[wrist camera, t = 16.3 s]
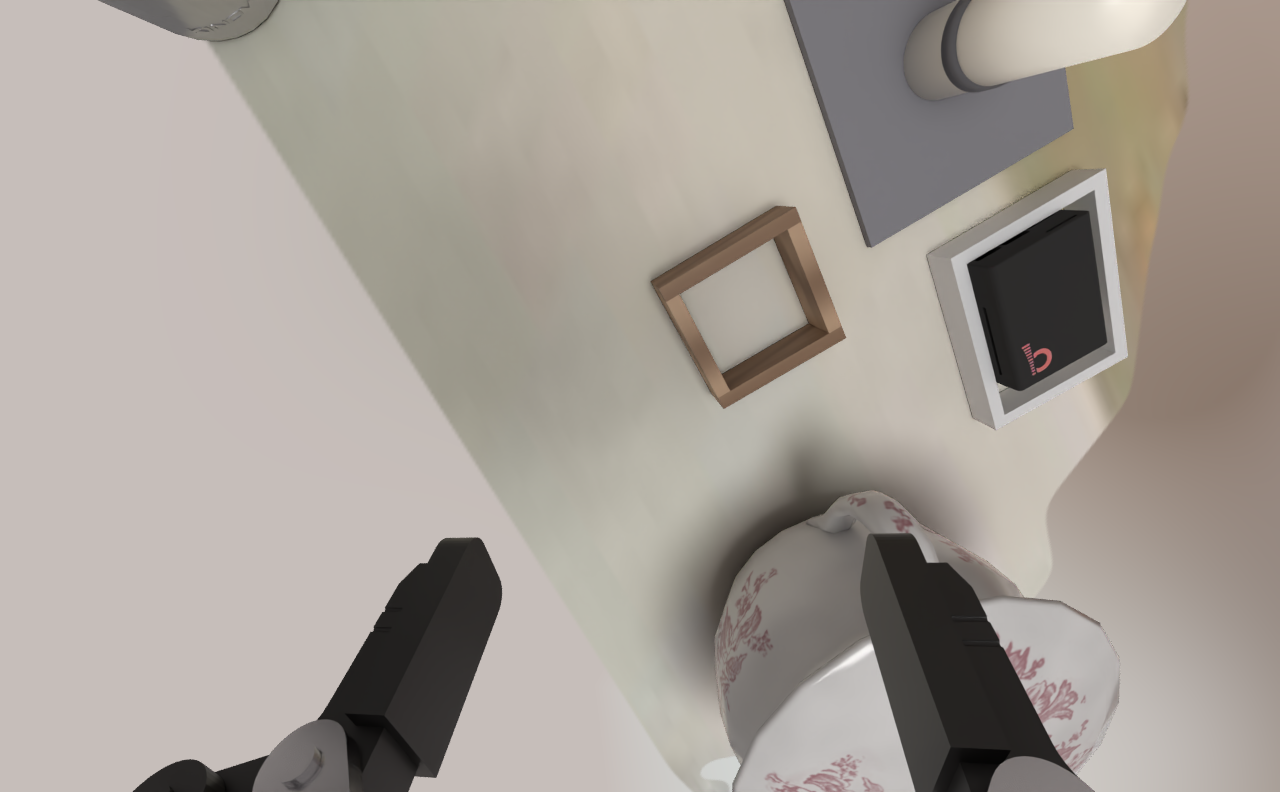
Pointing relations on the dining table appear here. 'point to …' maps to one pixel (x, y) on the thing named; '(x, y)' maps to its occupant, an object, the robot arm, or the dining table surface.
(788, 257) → the walnut collar
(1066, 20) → the white capsule dome
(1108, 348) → the grey organizer frame
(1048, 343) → the electronic device
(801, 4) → the charcoal mat
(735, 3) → the dining table surface
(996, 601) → the chamber pot
